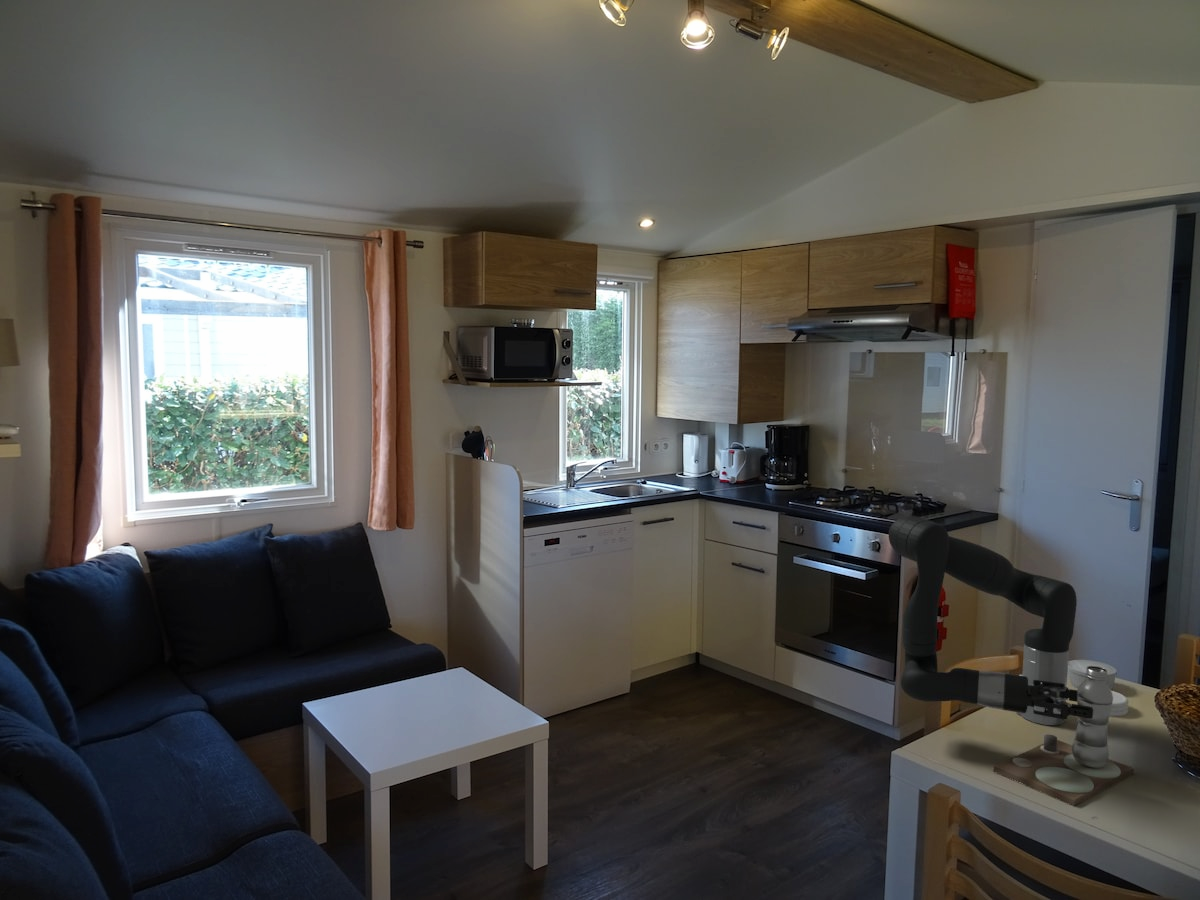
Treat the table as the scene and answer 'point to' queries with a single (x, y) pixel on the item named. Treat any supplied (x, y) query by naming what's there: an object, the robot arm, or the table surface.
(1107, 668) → the ramekin
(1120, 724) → the table surface
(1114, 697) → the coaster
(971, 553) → the robot arm
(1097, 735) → the plastic bottle
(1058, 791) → the board
